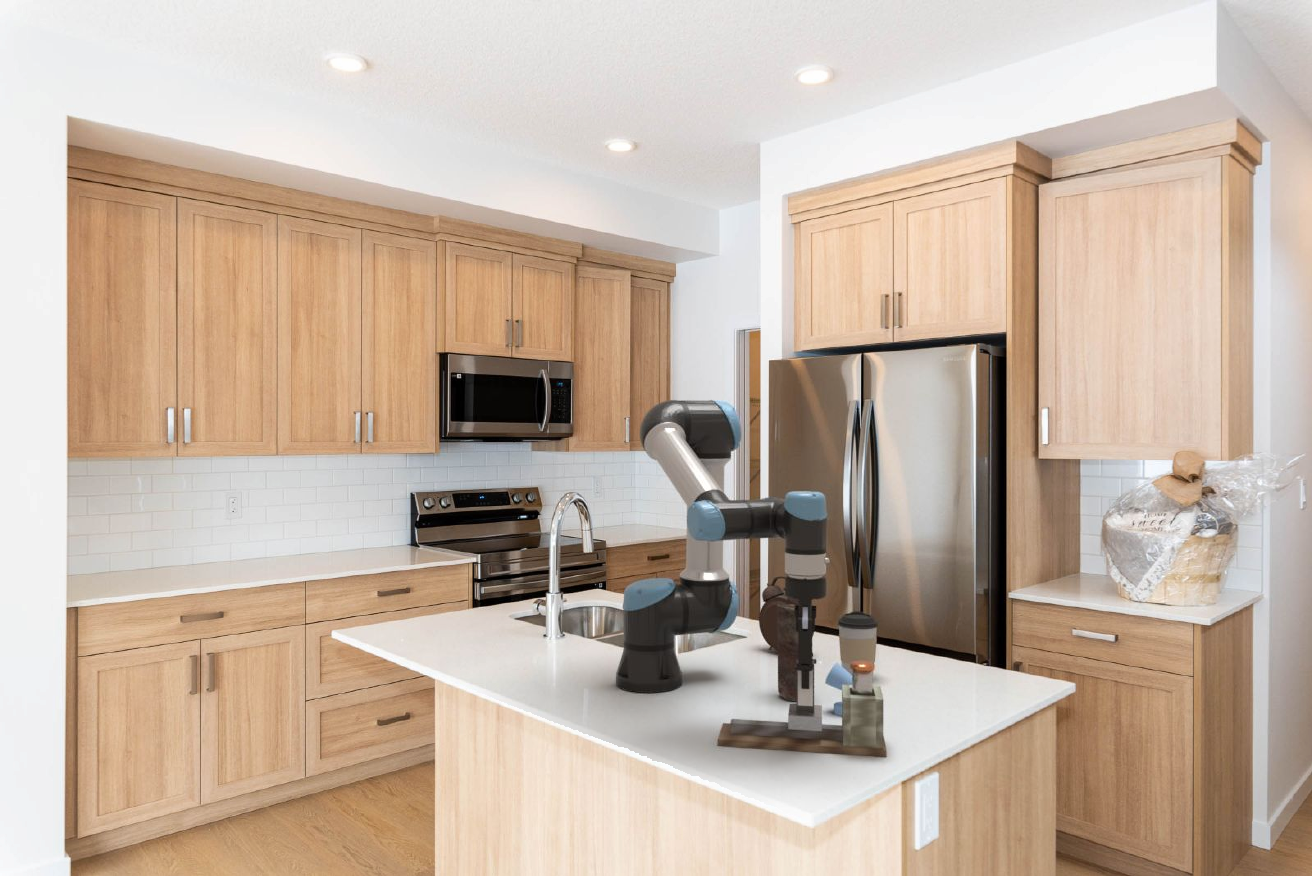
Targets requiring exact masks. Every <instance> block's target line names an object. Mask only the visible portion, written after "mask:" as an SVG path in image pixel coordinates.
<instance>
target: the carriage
mask: <svg viewBox="0 0 1312 876" xmlns="http://www.w3.org/2000/svg"><path fill="white" fill-rule="evenodd" d="M812 665H813V669H812V670H813V706H800V705H798V670H797V674H796V701H795V702H796V703H789V705H788V706H789V707H788V713H787V715H788V716H787V717H788V718H787V719H788V720H787V721H788V729H794V730H810V731H822V724H823V705H821V704H820V705H819V704H815V664H814V660H812ZM797 667H798V660H797Z"/></svg>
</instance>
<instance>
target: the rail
mask: <svg viewBox="0 0 1312 876" xmlns="http://www.w3.org/2000/svg"><path fill="white" fill-rule="evenodd" d="M883 696H884V695H883V690H882V688H881V686H878V685H872V696H866V695H852V685H842V690H841V702H842V716H841V725H840V724H838V725H837V724H826V723H825V724H823V723H822V731H810V730H794V729H788V722H787V721H773V720H772V721H771V720H757V719H756V720H755V719H754V720H753V719H741V718H740V719H739V718H731V719H730V722H729V723H727V722H723V723H722V724H721V729H720V731H719V734H718V737H717V746H718V747H720V746H721V747H732V748H744V749H745V748H746V749H748V748H749V749H765V750H777V751H778V750H779V751H792V752H793V751H794V752H795V751H796V752H807V753H808V752H809V753H822V754H838V755H850V756H851V755H854V756H855V755H856V756H867V757H868V756H871V757H883V758H887V755H888V754H887V745H886V741H885V740H886V739H885V737H884V697H883Z"/></svg>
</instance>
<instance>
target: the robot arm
mask: <svg viewBox="0 0 1312 876" xmlns="http://www.w3.org/2000/svg"><path fill="white" fill-rule="evenodd" d="M639 440H640V443H641V447H642V448H643V450H644V451H645V453H646V454H647V456H648V457H649V458H651V459H652V460H654V461H657V463H658V465H659V466H660V467H661V469H662V470H663V472H664V474H665V475H666V476H667V478H668V479H669V481H670V482H671V484H672V485H673V487H674V488H675V490H676V492H677V493H678V494H679V496H680V497H681V499H682V501H683V502H684V503H685V505H686V548H685V549H686V550H685V552H686V556H685V557H686V559H685V560H686V562H685V563H686V564H685V568H684V569H683V570H682V571H681V572H680V573H679V583H675V581H674V579H672V578H669V577H658V578H657V577H651V578H647V579H640V580H638V581H635V582H632V583H630V584H629V585H628V586H626V588H625V589H624V592H623V603H622V609H623V650H622V652H621V657H620V661H619V662H618V667H617V670H616V672H615V673H616V674H615V685H616V686H617V687H619V688H620V689H622V690H626V691H628V692H635V693H662V692H668V691H672V690H675V689H677V688H680V687H681V686H682V685H683V672H682V669H681V667H680V663H679V659H678V657H677V653H676V649H675V637H676V636H683V635H694V634H705V633H708V634H713V633H716V632H721V631H726V630H728V629H730V628H731V627H732V625H733V624H734V623H735V621H736V619H737V617H738V612H739V607H740V606H739V605H740V600H739V599H740V598H739V594H738V588H737V586H736V584H735V583H734V582H733V581H731V580H730V574H729V573H728V572H727V571H726V570H725V568H724V541H731V540H732V541H733V540H735V541H736V540H751V539H752V540H753V539H754V540H755V539H771V538H773V539H776V538H777V539H783V540H784V547H785V549H784V573H786V575H785V576H786V578H785V579H784V588H785V591H784V595H785V594H786V596H787V597H789V598H793V599H799V605H795V617H796V631H797V632H798V667H794V670H798V705H800V706H813V670H812V669H813V665H812V660H814V665H817V659H816V658H813V656H814V653H813V637H812V633H814V634H815V631H816V618H817V605H813V600H821V599H824V598H826V596H827V578H826V577H825V576H824V575H825V574H827V565H826V564H829V563H830V562H831V561H830V558H829V557H826V556H827V526H828V525H827V523H828V522H827V521H828V512H827V501H826V500H827V499H826V496H825V494H824V493H823V492H820V491H804V490H802V491H801V490H800V491H789V492H787V493H786V495H785V498H784V499H783V498H780V497H776V496H774V497H763V498H760V499H733V500H732V499H729V497H728V496H727V495H726V493H725V466H726V465H727V464H728V463H729V462H730V461H731V460H732V452H733V451H736V450H737V449H738V448H739V447H740V445H741V443H740V442H741V440H742V425H741V419H740V418H739V414H738V413H737V410H736V409H735V407H734V406H733V405H732V404H730V403H729V402H727V401H721V400H714V399H713V400H712V399H710V400H709V399H708V400H689V399H687V400H677V399H670V400H669V399H668V400H664V401H661V402H659V403H658V404H655V405H654V406H653V407H651V408H650V409H649V410H648V411H646V414H645V415H644V417H643V418H642V421H641V423H640V426H639Z"/></svg>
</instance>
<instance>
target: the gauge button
mask: <svg viewBox="0 0 1312 876" xmlns="http://www.w3.org/2000/svg"><path fill="white" fill-rule="evenodd" d="M875 667H876V666H875V662H874V663H872V662H868V661H852V662H850V669H852V695H866V696H872V686H873V680H872V671H873V670H875ZM873 672H874V671H873Z"/></svg>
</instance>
